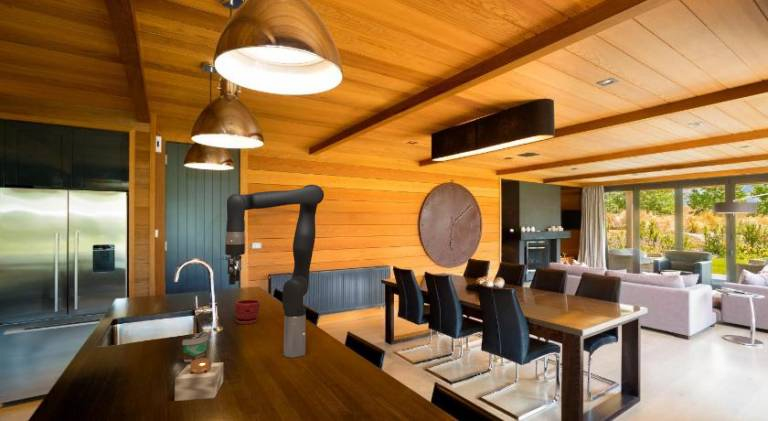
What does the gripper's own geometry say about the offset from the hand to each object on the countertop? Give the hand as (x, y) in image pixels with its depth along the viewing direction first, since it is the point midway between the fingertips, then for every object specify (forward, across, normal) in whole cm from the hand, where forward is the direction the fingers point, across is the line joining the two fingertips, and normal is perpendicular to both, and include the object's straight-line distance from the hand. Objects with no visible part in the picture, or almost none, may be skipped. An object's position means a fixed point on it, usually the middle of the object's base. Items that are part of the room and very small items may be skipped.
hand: (234, 282), depth 148 cm
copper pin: (+33, -22, +6) cm, 40 cm away
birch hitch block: (+33, -22, +6) cm, 40 cm away
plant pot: (+33, +64, +5) cm, 72 cm away
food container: (+33, +8, +15) cm, 37 cm away
